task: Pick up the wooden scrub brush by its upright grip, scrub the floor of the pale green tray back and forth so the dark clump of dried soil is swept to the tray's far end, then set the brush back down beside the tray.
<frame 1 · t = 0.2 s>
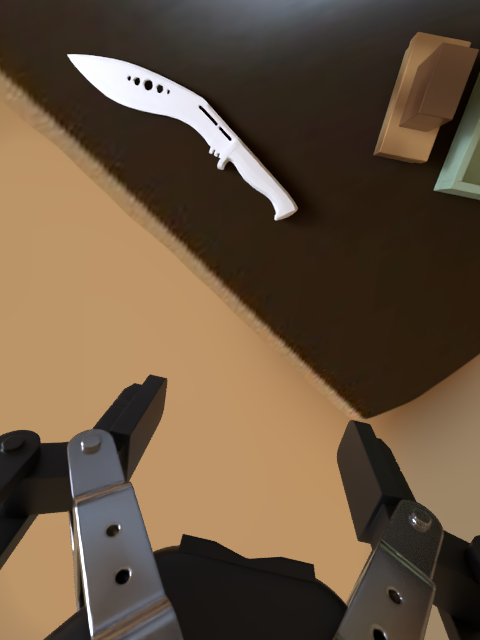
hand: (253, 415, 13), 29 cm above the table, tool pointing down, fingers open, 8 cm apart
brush: (409, 109, 32), on the table
knife: (188, 135, 35), on the table
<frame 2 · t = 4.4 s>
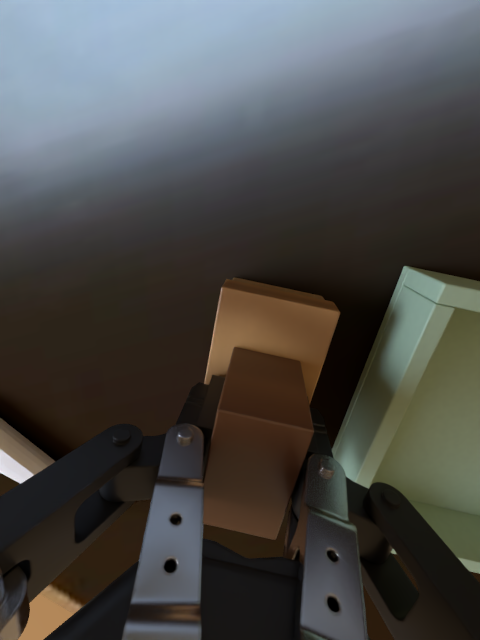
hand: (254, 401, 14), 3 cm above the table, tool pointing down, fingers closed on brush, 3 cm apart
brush: (257, 368, 17), on the table, touching gripper
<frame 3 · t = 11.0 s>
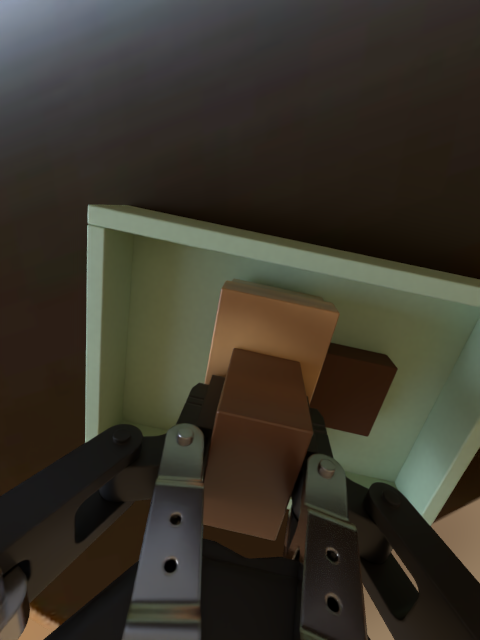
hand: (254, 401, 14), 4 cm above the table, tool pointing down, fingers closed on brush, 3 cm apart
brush: (257, 368, 17), point 1 cm above the table, touching gripper
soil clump: (335, 379, 17), point 1 cm above the table, touching tray
tray: (279, 363, 18), on the table
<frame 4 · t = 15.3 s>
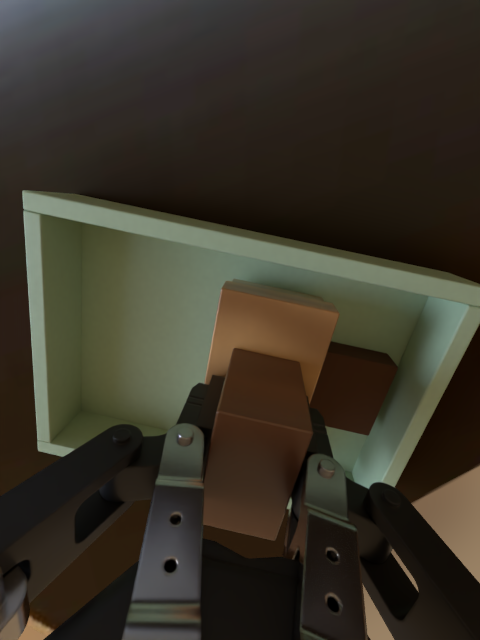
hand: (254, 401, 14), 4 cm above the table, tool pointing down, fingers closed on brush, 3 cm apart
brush: (257, 368, 17), point 1 cm above the table, touching gripper, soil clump
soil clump: (335, 378, 17), point 1 cm above the table, touching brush, tray
tray: (233, 352, 18), on the table
when the fingers open (3 cm above the table, at t = 21.6 s): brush stays where it is, on the table.
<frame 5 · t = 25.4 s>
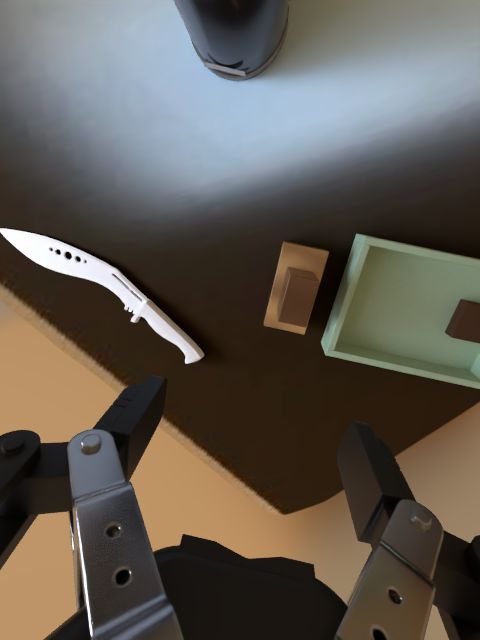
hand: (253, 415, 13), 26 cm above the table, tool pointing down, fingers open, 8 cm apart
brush: (293, 284, 37), on the table
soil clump: (470, 319, 36), point 1 cm above the table, touching tray
tray: (416, 308, 37), on the table
knife: (107, 291, 40), on the table
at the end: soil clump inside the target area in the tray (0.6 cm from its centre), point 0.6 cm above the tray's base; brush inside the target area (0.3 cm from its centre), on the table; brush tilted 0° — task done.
